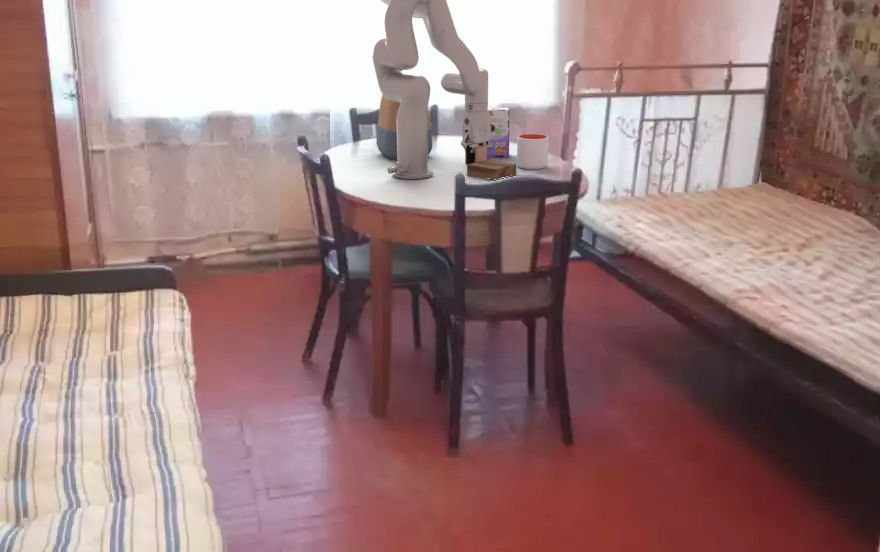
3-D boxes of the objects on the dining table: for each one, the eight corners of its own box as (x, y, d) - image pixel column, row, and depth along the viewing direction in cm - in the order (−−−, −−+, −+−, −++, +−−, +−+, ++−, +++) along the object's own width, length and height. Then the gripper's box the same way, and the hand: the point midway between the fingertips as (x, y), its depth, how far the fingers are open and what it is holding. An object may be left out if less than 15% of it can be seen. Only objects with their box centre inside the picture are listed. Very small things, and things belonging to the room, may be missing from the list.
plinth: (495, 180, 290) (495, 169, 288) (467, 175, 296) (467, 164, 295) (516, 174, 298) (516, 163, 296) (488, 169, 304) (488, 159, 303)
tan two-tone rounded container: (435, 158, 322) (435, 89, 315) (389, 162, 316) (387, 92, 309) (418, 149, 337) (417, 83, 330) (373, 153, 331) (372, 86, 324)
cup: (528, 162, 315) (528, 132, 312) (553, 166, 309) (554, 136, 306) (510, 167, 308) (511, 137, 304) (536, 171, 302) (537, 140, 298)
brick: (477, 166, 309) (477, 148, 307) (465, 164, 312) (465, 146, 310) (486, 164, 313) (486, 146, 311) (474, 162, 316) (474, 144, 314)
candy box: (509, 154, 328) (510, 106, 323) (508, 157, 322) (509, 109, 317) (469, 153, 329) (469, 106, 324) (468, 157, 324) (468, 108, 319)
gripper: (469, 111, 298) (468, 168, 304) (501, 105, 311) (500, 160, 316) (450, 109, 303) (450, 165, 309) (482, 103, 315) (482, 157, 321)
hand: (475, 162), depth 312 cm, fingers closed on brick, 5 cm apart
